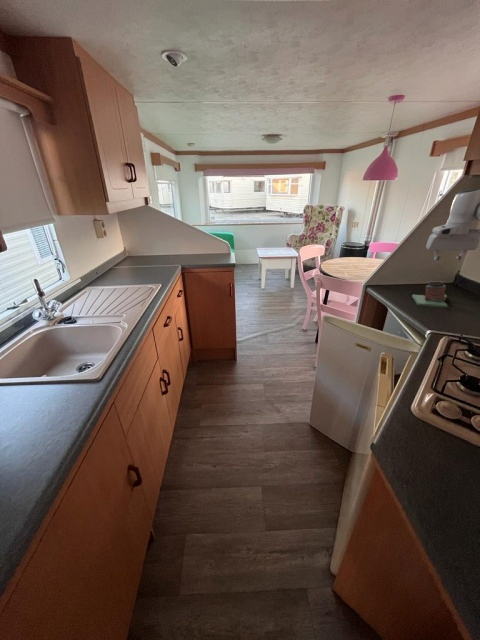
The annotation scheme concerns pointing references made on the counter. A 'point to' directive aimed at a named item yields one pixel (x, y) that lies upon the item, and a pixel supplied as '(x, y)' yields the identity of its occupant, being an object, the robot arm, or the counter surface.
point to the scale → (420, 301)
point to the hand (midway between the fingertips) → (447, 259)
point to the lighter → (435, 291)
